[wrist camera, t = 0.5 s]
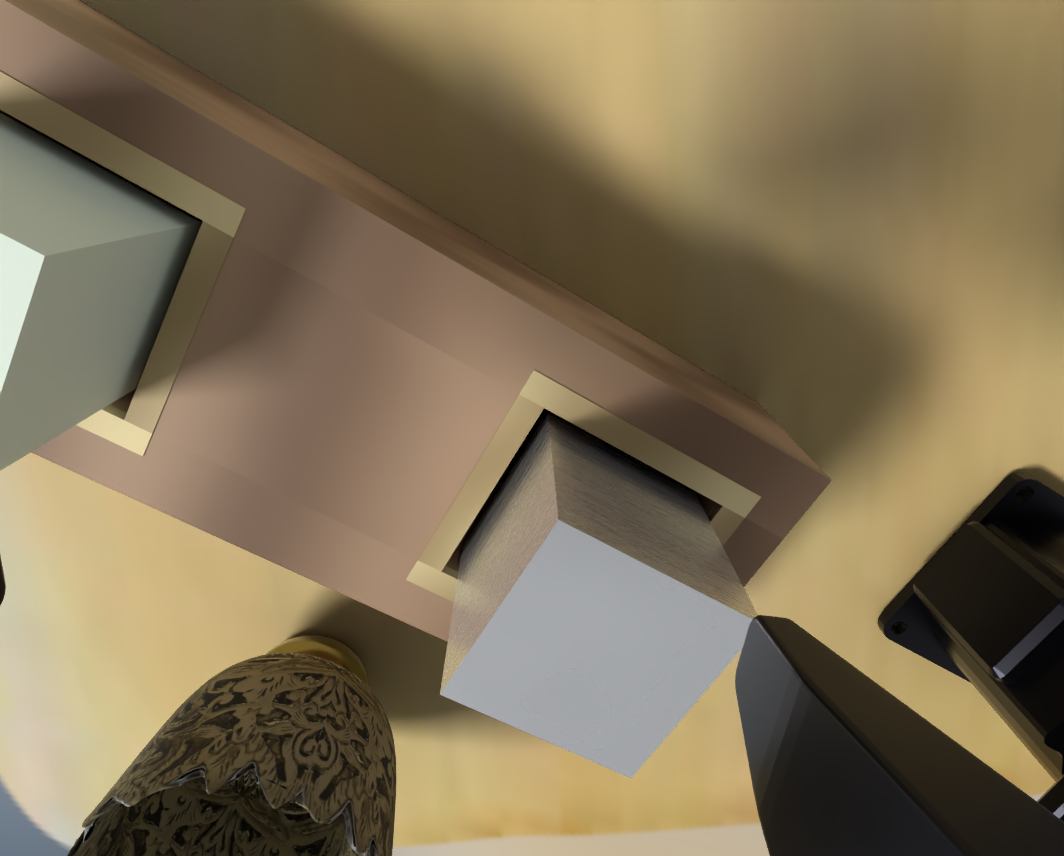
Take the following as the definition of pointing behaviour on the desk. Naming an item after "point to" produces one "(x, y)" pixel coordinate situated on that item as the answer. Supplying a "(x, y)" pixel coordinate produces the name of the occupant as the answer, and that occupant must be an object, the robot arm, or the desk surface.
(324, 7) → the desk surface
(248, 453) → the walnut bar
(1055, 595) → the robot arm
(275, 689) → the cup
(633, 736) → the steel peg
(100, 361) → the sage peg
